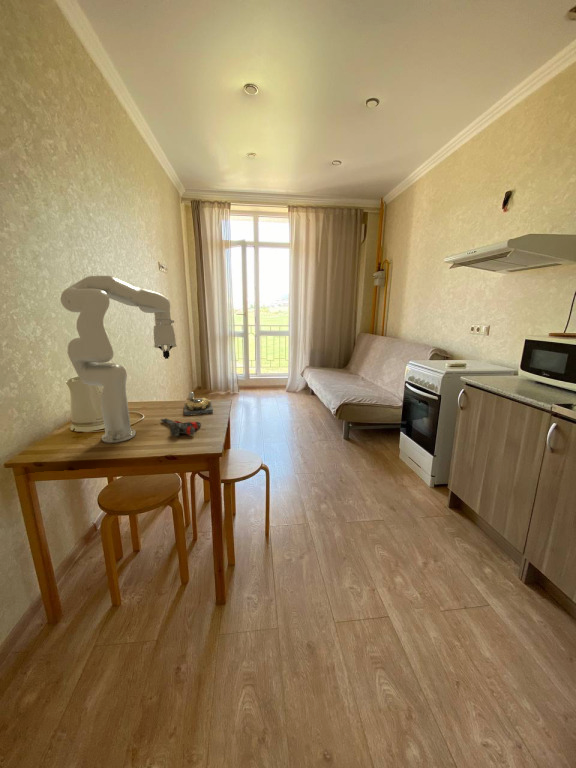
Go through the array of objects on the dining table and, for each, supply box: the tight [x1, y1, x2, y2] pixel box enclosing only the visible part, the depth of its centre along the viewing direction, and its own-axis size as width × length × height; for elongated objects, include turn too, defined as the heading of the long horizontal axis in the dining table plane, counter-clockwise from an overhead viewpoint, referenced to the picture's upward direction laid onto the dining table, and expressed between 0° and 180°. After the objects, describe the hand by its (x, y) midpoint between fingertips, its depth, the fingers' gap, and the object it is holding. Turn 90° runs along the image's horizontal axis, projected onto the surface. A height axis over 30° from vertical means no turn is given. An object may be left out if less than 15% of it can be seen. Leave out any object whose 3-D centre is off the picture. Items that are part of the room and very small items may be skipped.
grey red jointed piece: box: [160, 418, 202, 438], centre depth 139 cm, size 6×26×15 cm
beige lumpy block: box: [184, 391, 212, 410], centre depth 161 cm, size 13×12×6 cm
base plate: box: [183, 400, 214, 416], centre depth 162 cm, size 15×14×2 cm
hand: (166, 358), depth 159 cm, fingers closed
